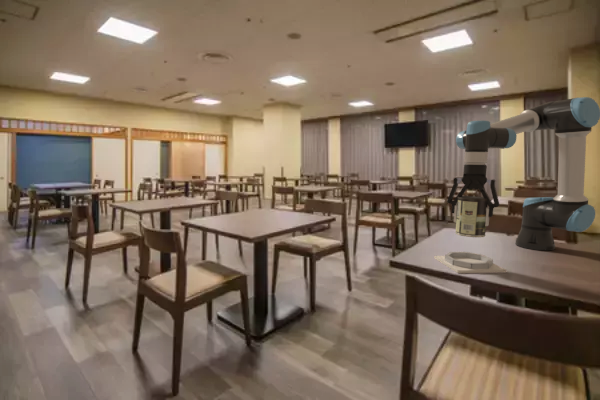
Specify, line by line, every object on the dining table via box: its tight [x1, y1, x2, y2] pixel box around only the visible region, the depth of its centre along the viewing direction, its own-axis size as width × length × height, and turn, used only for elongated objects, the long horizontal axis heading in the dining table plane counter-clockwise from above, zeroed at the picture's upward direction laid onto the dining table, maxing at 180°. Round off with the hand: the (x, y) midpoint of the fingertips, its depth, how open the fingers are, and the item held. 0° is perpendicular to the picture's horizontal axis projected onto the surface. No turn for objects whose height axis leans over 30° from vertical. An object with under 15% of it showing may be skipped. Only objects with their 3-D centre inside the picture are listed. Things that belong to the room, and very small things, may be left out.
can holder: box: [433, 251, 507, 274], centre depth 131 cm, size 18×18×3 cm
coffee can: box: [454, 195, 488, 238], centre depth 129 cm, size 10×10×14 cm
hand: (470, 223), depth 129 cm, fingers closed on coffee can, 10 cm apart
